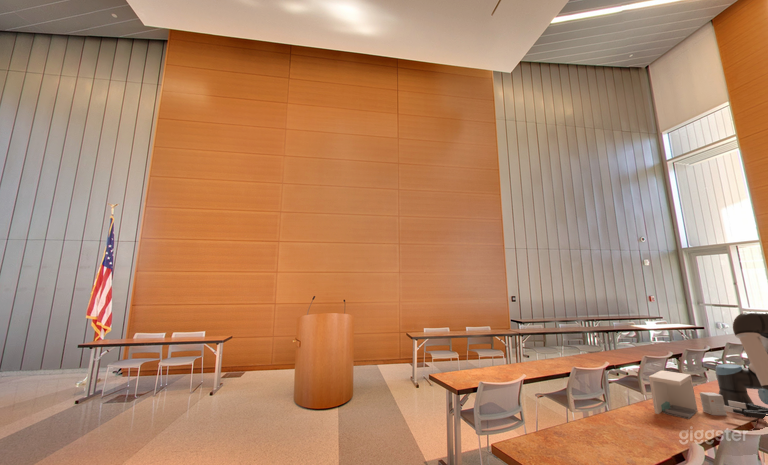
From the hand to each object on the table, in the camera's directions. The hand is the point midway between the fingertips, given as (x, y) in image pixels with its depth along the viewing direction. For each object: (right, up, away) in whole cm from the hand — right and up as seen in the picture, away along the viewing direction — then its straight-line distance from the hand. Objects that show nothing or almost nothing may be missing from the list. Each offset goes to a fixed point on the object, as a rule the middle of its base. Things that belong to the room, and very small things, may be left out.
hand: (726, 405), depth 171 cm
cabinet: (-22, -7, +6) cm, 24 cm away
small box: (-2, -7, +4) cm, 8 cm away
